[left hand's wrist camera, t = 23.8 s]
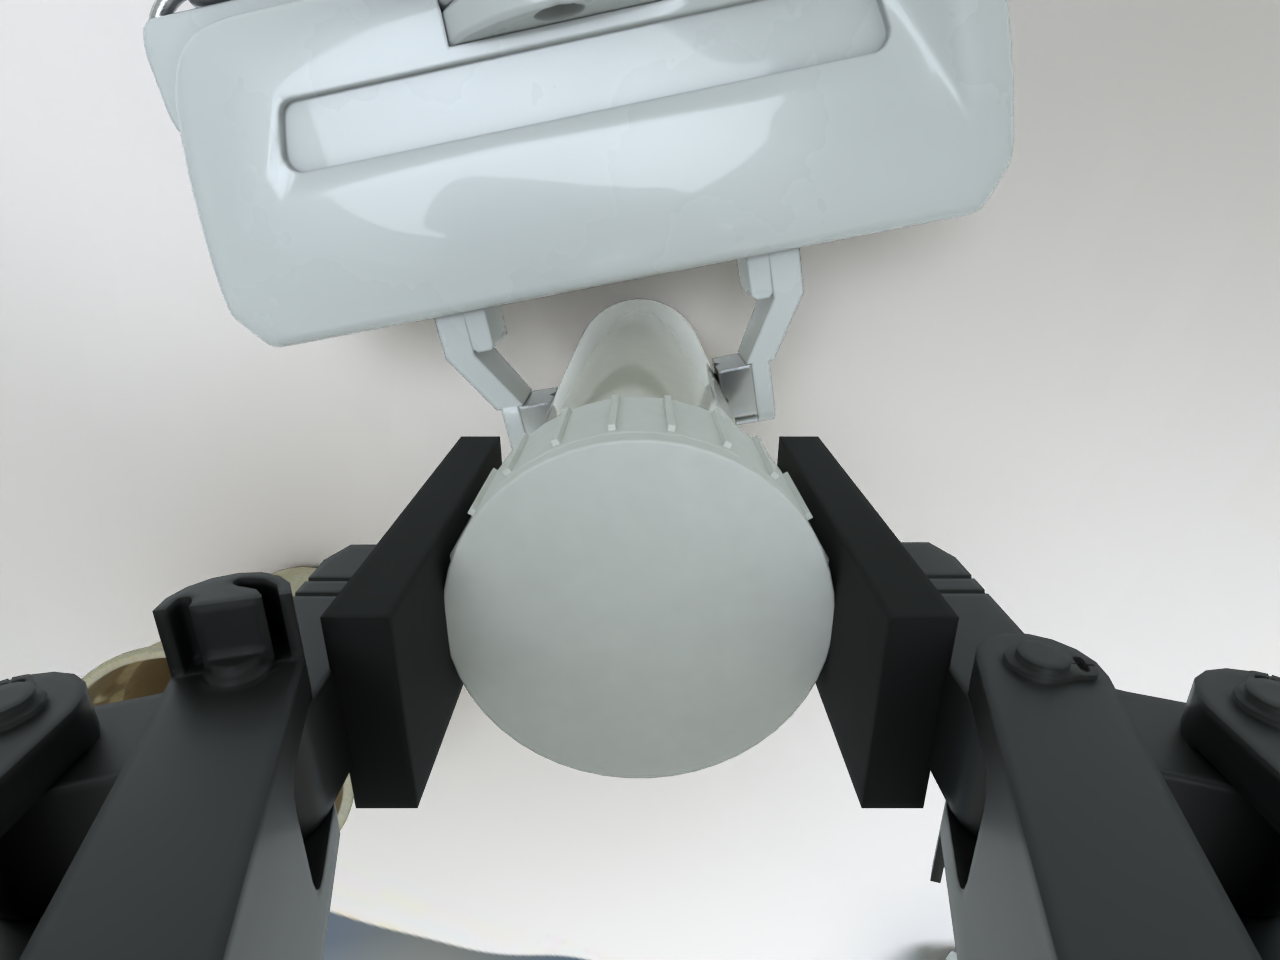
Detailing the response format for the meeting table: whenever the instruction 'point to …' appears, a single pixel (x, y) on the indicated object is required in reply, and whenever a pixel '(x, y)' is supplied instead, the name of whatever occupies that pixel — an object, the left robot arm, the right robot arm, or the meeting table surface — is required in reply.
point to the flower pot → (151, 676)
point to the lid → (639, 591)
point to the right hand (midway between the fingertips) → (646, 436)
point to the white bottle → (639, 361)
